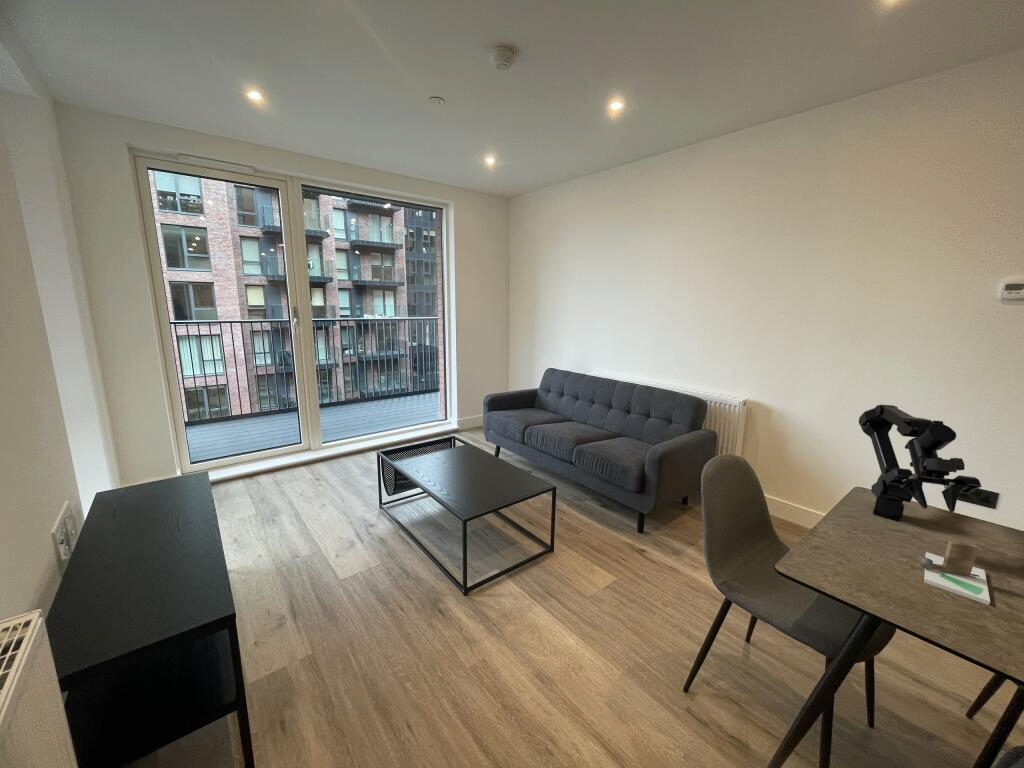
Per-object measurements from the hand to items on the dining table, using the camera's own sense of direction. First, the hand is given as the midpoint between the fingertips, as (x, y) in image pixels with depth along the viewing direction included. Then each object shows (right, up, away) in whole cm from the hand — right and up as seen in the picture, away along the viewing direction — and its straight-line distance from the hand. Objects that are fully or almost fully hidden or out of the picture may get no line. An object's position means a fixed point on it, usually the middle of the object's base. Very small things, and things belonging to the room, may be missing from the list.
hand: (938, 510), depth 112 cm
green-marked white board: (-3, -15, -7) cm, 17 cm away
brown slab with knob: (-4, -14, -6) cm, 16 cm away
